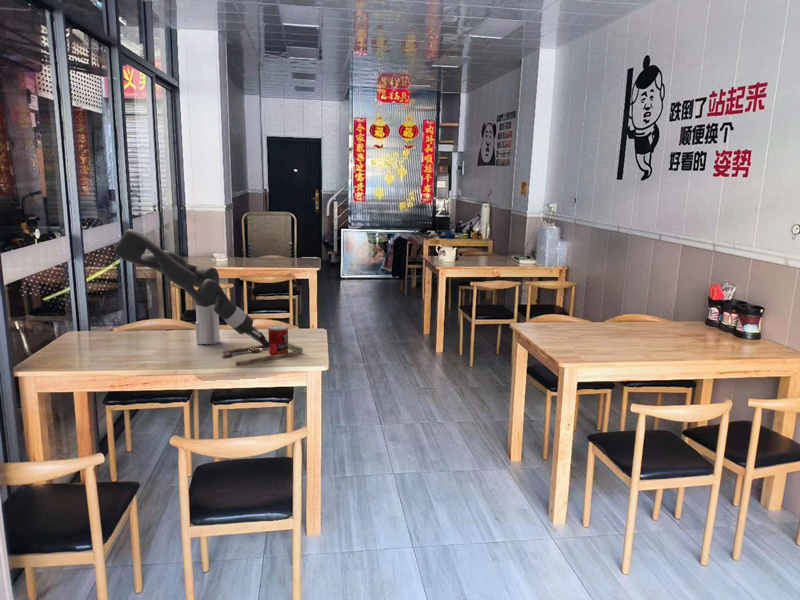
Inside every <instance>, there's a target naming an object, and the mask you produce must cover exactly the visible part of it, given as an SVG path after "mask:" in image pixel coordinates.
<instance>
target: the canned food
mask: <svg viewBox="0 0 800 600" xmlns="http://www.w3.org/2000/svg"><path fill="white" fill-rule="evenodd" d="M268 342H269V343H270V346H269V350H268V353H269V355H270V356H273V355H279V354H285V353H289V349H288V342H289V327H288V326H287V325H283V324H274V325H270V326H268Z"/></svg>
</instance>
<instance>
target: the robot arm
mask: <svg viewBox="0 0 800 600" xmlns="http://www.w3.org/2000/svg"><path fill="white" fill-rule="evenodd" d="M146 250H148V251H149V252H150V253H145V252H146ZM113 252H114V254H115V255H116V256H117V257H118V258H120V259H122V260H123V261H126V262H129V263H133V264H134V265H138V266H142V267H147V268H148V269H152V270H154V271H156V272H159V273H161V274H163V275H164V276H165V277H166V278H167V279H168V280H169V281H170V282H172V283H173V284H175V285H176V286H178V287H180V288H181V289H183V290H184V291H185V292H186V293H187V294H188V295H189V296H190V297H191V298H192V299H193V301H194V302H195V313H196V315H195V316H196V321H195V336H196V345H202V344H207V345H208V344H210V345H216V344H218V343H220V341H221V336H220V320H219V319H220V318H221V319H223V320H224V322H225V323H226V324H227V325H228V326H229V327H231V328H232V329H233V330H234V331H235V332H237V333H238V334H239V335H243V334H246V335H247V336H248V337H250V338H252V340H254V341H257V343H260V345H263V346H265V347H266V348H268V347H269V346H270V343H269V340H267V338H266V336H265V335H264V334H263V333H262V332H260V331H259V329H258V328H257V327H256V326H253V324H254V320H253V318H252V317H251V316H249V314H247V313H246V312H245V311H244V310H242V309H241V307H238V306H237V305H236V304H235V303H234V302H232V300H230V299H229V297H228V296H227V295H226V293H225V292H224V290H223V288H222V287H221V285H220V274H219V270H217V269H216V268H215V267H212V266H199V265H198V266H197V265H192V264H190V263H188V262H187V261H186V259H185V258H184V257H183V256H181V255H180V254H178V253H175V252H172V251H170V250H163V249H161V247H159V246H158V245H157V244H155V242H153V241H152V240H151V239H150V238H149V237H147V236H146V235H144V234H142V233H141V232H139V231H137V230H135V229H133V228H132V229H131V228H128V229H126V231H125V232H124V233H123V234H122V236H121V238H120V239H119V240H118V242H117V243H116V245H115V246H114V250H113ZM196 288H198V289H196ZM219 317H220V318H219Z"/></svg>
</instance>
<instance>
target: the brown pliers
mask: <svg viewBox="0 0 800 600" xmlns="http://www.w3.org/2000/svg"><path fill="white" fill-rule="evenodd" d="M258 348H262V350H264V351H269V350H268V349H269V347H268V348H266V347H265V346H263V345H262V344H257V345H253V346H246V347H239V348H233V349H228V350H223V351H222V355H221V356H222V358H223V359H226V358H227V359H228V358H233V356H241V355H246V354H251V353H250V351H251V352H253V353H252V354H255V353H254V352H258V353H261V351H260V349H258ZM289 349H290V350H289ZM248 350H249V351H248ZM288 350H289V351H291V350H293V351H291V352H288V353H285V354H279V355H267V356H264V357H263V356H261V357H256V358H250V359H245V360H240V361H235V366H237V367H238V366H243V365H249V364H255V363H260V362H266V361H267V362H268V361H271V360H277V358H278V359H283V358H288V357H287V356H289V357H293V356H292V355H295V356H298V355H297V354H300V355H303V354H304V348H303V347H302V346H298V345H296V344H294V343H292V342H290V341H288ZM294 351H295V352H294ZM245 353H246V354H245ZM302 353H303V354H302ZM282 357H283V358H282Z"/></svg>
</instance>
